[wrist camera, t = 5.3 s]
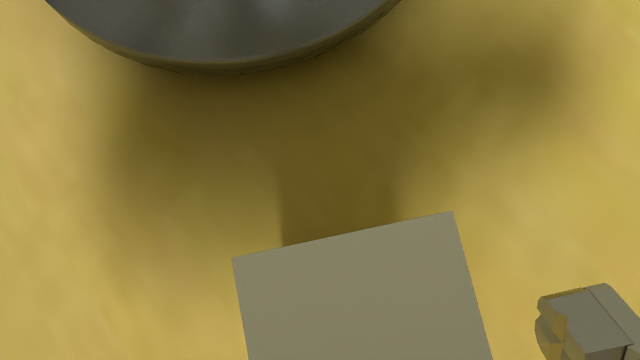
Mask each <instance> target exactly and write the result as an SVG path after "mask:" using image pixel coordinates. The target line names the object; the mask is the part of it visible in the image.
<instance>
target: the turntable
mask: <svg viewBox="0 0 640 360" xmlns="http://www.w3.org/2000/svg"><path fill="white" fill-rule="evenodd" d="M45 1H46V2H47V3H48V4H49V5H50V6H51V7H52V8H54V9H55V10H56V11H57V12H58V13H59V14H60V15H61V16H62V17H63V18H64V19H65V20H66V21H67V22H68V23H69V24H70V25H72V26H73V27H75V28H76V29H77V30H79V31H80V32H81V33H83V34H84V35H85V36H87V37H88V38H89V39H91V40H92V41H94V42H96V43H98V44H100V45H101V46H103V47H105V48H107V49H109V50H111V51H113V52H114V53H116V54H118V55H121V56H123V57H126V58H129V59H132V60H134V61H137V62H140V63H142V64H145V65H148V66H152V67H157V68H161V69H165V70H170V71H174V72H181V73H190V74H200V75H241V74H248V73H254V72H261V71H268V70H274V69H278V68H281V67H285V66H288V65H292V64H296V63H299V62H303V61H306V60H308V59H311V58H313V57H315V56H318V55H320V54H323V53H325V52H328V51H330V50H333V49H335V48H336V47H338V46H340V45H342V44H343V43H345V42H347V41H349V40H350V39H352V38H354V37H356V36H358V35H359V34H361V33H362V32H364V31H365V30H366V29H368V28H369V27H370V26H372V25H373V24H374V23H376V22H377V21H379V20H380V19H381V18H383V17H384V16H385V15H386V14H387V13H388V12H389V11H390V10H391V9H393V8H394V7H395V6H396V5H397V4H398V3H399V2H400V1H401V0H45Z"/></svg>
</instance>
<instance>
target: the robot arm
mask: <svg viewBox="0 0 640 360" xmlns="http://www.w3.org/2000/svg"><path fill="white" fill-rule="evenodd" d="M537 309H538V310H539V312H540V313H541V315H540V316H539V317H538V318H537V319H536V320H535V334H536V338H537V342H538V344H539V347H540V349H541V351H542V353H543V354H544V356H545V358H546V359H547V360H640V318H639V317H638V316H637V315H636V314H635V312H634V311H633V310H632V309H631V308H630V307H629V306H628V305H627V304H626V302H625V301H624V300H623V299H622V298H621V297H620V296H619V295H618V293H617V292H616V291H615V290H614V289H613V288H612V287H611V286H610V285H608V284H606V283H601V284H597V285H592V286H588V287H584V288H576V289H572V290H568V291H563V292H559V293H555V294H551V295H546V296H542V297H540V299H539V300H538V304H537Z"/></svg>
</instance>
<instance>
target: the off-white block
mask: <svg viewBox="0 0 640 360" xmlns="http://www.w3.org/2000/svg"><path fill="white" fill-rule="evenodd" d="M232 264H233V270H234V276H235V281H236V287H237V293H238V299H239V305H240V311H241V316H242V322H243V328H244V334H245V340H246V345H247V351H248V357H249V360H493V358H492V355H491V351H490V347H489V344H488V340H487V336H486V333H485V329H484V325H483V321H482V318H481V314H480V310H479V307H478V303H477V299H476V296H475V292H474V288H473V285H472V281H471V277H470V274H469V270H468V266H467V263H466V259H465V255H464V252H463V248H462V244H461V241H460V237H459V233H458V230H457V226H456V222H455V219H454V215H453V211H447V212H443V213H438V214H434V215H429V216H424V217H420V218H415V219H410V220H406V221H401V222H396V223H392V224H387V225H383V226H378V227H373V228H369V229H364V230H359V231H355V232H350V233H345V234H341V235H336V236H332V237H327V238H322V239H318V240H313V241H308V242H304V243H299V244H294V245H290V246H285V247H281V248H276V249H271V250H267V251H262V252H257V253H253V254H248V255H244V256H239V257H234V258H232Z"/></svg>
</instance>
